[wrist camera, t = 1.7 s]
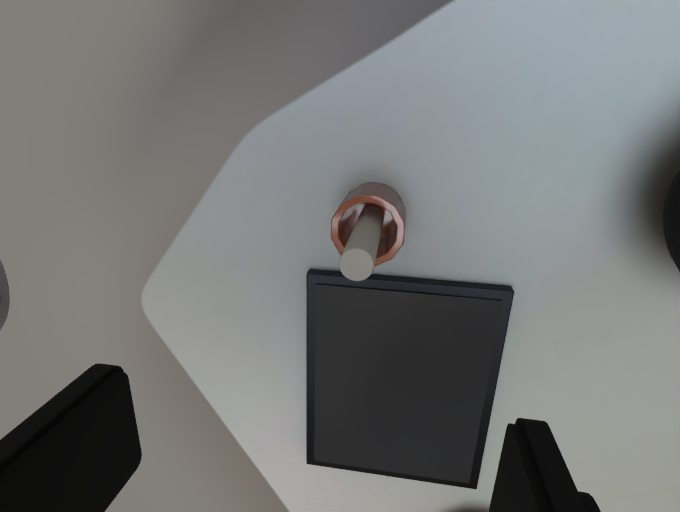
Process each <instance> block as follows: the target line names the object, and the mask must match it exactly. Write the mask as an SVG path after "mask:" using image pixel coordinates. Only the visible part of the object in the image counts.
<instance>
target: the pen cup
mask: <svg viewBox="0 0 680 512" xmlns="http://www.w3.org/2000/svg"><path fill="white" fill-rule="evenodd" d="M367 206H376V207H378V208H380V209H381V211H382V212H383V214H384V221H383V226H382V231H381V236H380V240H379V245H378V250H377V254H376V259H375V264H374V266H377V265H379V264H381V263H384V262H386V261H388V260H391V259H392V258H393V257H394V256H395V254H396V253H397V252H398V250H399V249H400V247H401V246H402V245H403V243H404V231H405V208H404V205H403V202H402V200H401V198H400V196H399V195H398V194H397V193H396V192H395V191H394V190H393V189H392V188H390V187H388V186H387V185H384V184H381V183H365V184H362V185H360V186H358V187H356V188H355V189H353V190H351V191H350V192H349V194H348V195H347V196H346V198H345V199H344V201H343V202H342V204H341V205H340V207H339V208H338V210H337V211H336V213H335V215H334V216H333V218H332V220H331V239H332V241H333V243H334V245H335V246H336V248H337V250H338V252H339V254H340V255H342V253H343V251H344V248H345V246H346V244H347V242H348V240H349V237H350V235H351V233H352V231H353V229H354V226H355V224H356V222H357V220H358V218H359V215H360V213H361V211H362V210H363V209H364V208H365V207H367Z"/></svg>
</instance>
